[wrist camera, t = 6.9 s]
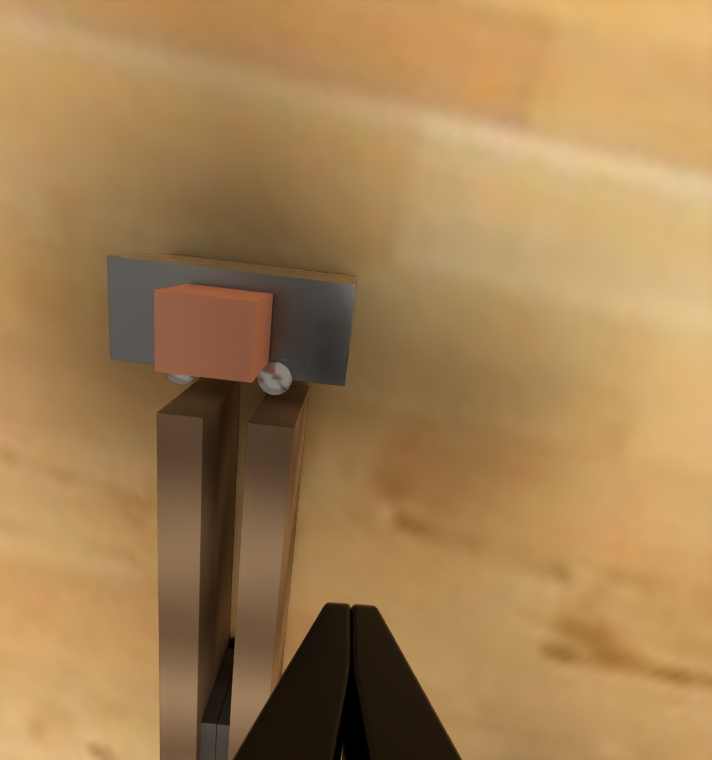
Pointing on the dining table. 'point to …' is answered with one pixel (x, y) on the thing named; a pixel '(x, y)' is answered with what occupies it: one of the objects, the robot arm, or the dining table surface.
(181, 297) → the tab
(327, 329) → the grey block
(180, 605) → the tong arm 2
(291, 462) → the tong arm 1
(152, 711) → the dining table surface
